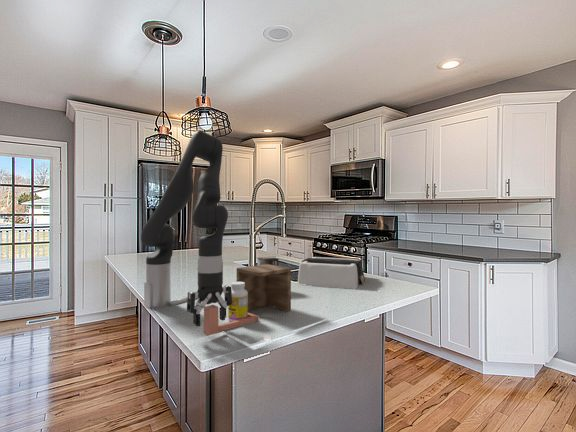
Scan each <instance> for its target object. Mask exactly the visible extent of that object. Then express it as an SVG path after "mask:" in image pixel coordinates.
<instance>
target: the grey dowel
mask: <svg viewBox="0 0 576 432" xmlns="http://www.w3.org/2000/svg"><path fill="white" fill-rule="evenodd" d="M187 297H188V296H186V297H183V298H182V297H181V298H179V299H176V300H172V301H171V302H170V305H169V306H175V305H179V304H184V303H187ZM198 299H199V297H198V296H197V297H196V299H195V300H198Z"/></svg>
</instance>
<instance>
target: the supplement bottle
mask: <svg viewBox="0 0 576 432" xmlns="http://www.w3.org/2000/svg"><path fill="white" fill-rule="evenodd" d="M230 287H231V291H232V305H229V306H227V308H228V310H227V312H228V313H227V318H228V322H232V321H236V320H240V319H243V318H247V317H248V313H249V312H248V311H249V310H248V292H247V291H246V290H245V289H244V287H245V283H244V282H237V281H233V282H231V283H230Z"/></svg>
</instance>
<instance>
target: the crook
mask: <svg viewBox="0 0 576 432" xmlns="http://www.w3.org/2000/svg"><path fill="white" fill-rule="evenodd" d="M258 321H259V315H256V314H254V313H250V312H248V317H247V318H243V319H240V320H236V321H232V322H231V321H228V322H225V323H222V324H219V306H218V305H214V304H209V305H205V307H204V308H203V333H204V334H205V335H208V336H212V335H215V334H219V332H223V331H226V330H229V329H233V328H237V327H241V326H244V325H247V324H250V323H255V322H258Z"/></svg>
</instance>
